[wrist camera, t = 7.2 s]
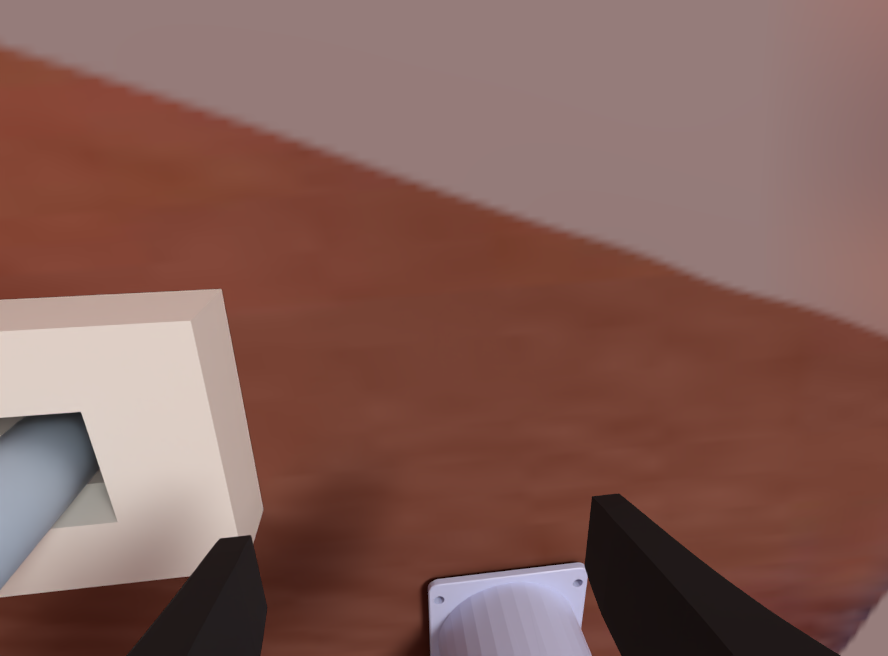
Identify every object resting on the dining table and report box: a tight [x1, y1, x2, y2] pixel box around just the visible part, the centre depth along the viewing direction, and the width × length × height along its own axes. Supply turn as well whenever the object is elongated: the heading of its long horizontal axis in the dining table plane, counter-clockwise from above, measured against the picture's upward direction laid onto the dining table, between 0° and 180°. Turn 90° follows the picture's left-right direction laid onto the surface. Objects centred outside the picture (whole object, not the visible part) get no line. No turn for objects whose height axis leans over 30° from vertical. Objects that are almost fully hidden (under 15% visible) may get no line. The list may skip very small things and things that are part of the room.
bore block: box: [0, 289, 263, 597], centre depth 17 cm, size 10×12×3 cm
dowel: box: [0, 412, 100, 590], centre depth 15 cm, size 3×3×7 cm
